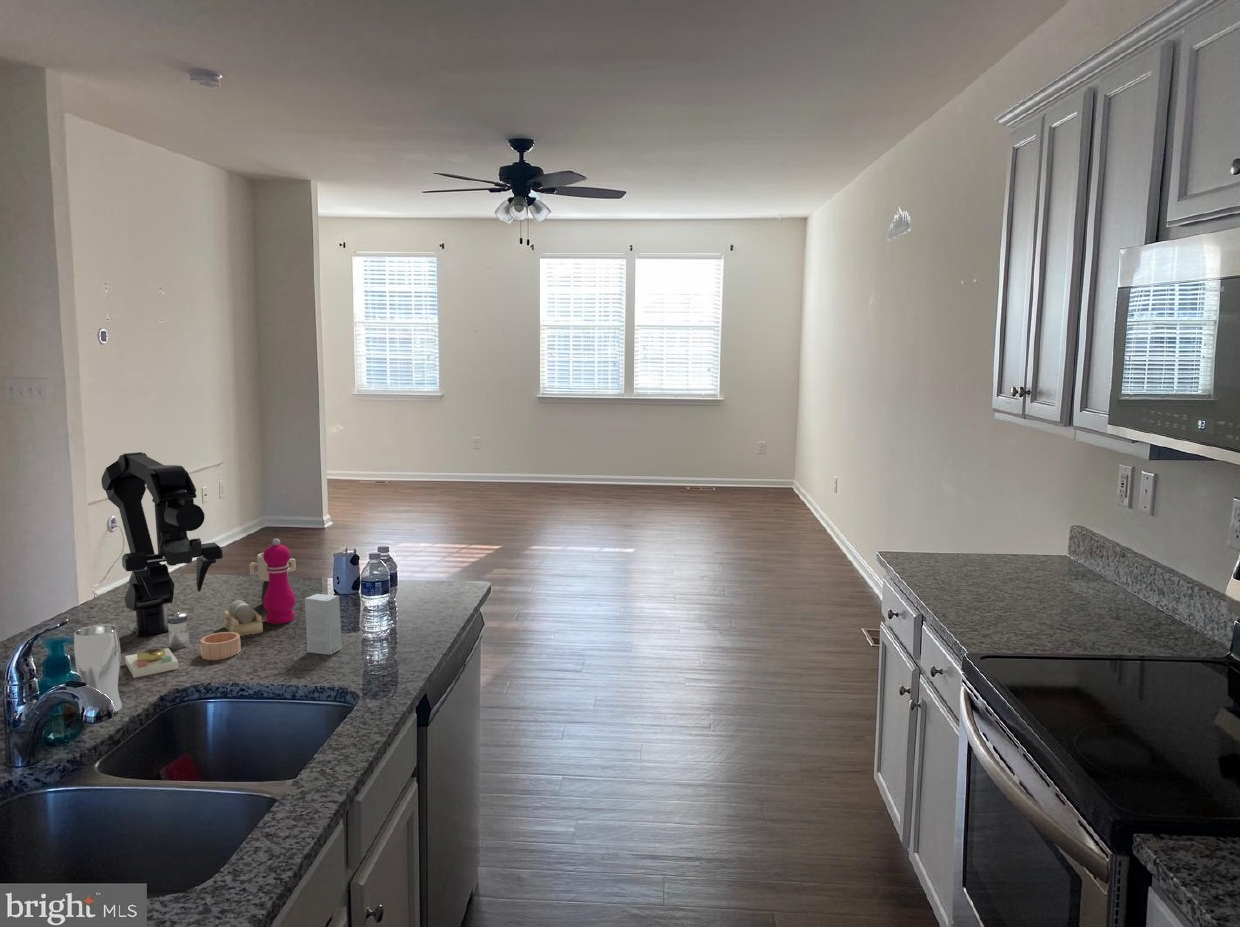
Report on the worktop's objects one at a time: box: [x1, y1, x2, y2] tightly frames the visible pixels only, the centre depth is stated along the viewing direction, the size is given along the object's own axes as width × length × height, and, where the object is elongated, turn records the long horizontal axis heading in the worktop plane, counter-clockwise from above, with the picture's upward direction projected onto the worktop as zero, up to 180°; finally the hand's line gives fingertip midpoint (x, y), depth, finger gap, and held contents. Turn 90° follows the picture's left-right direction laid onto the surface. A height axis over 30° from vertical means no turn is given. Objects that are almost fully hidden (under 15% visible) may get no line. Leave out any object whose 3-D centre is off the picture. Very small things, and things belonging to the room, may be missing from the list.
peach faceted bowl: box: [199, 631, 242, 661], centre depth 181 cm, size 8×8×4 cm
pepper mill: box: [262, 538, 296, 625], centre depth 202 cm, size 7×7×20 cm
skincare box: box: [304, 593, 343, 656], centre depth 182 cm, size 6×4×12 cm
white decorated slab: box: [124, 647, 180, 679], centre depth 174 cm, size 10×8×2 cm
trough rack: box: [223, 599, 264, 637], centre depth 196 cm, size 10×6×6 cm, turn 38°
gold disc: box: [136, 648, 165, 661], centre depth 173 cm, size 5×5×1 cm
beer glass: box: [73, 623, 123, 713], centre depth 151 cm, size 7×7×15 cm
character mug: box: [248, 552, 297, 603], centre depth 216 cm, size 11×7×13 cm, turn 116°
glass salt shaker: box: [166, 611, 190, 650], centre depth 185 cm, size 4×4×8 cm
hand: (175, 594), depth 184 cm, fingers open, 9 cm apart
